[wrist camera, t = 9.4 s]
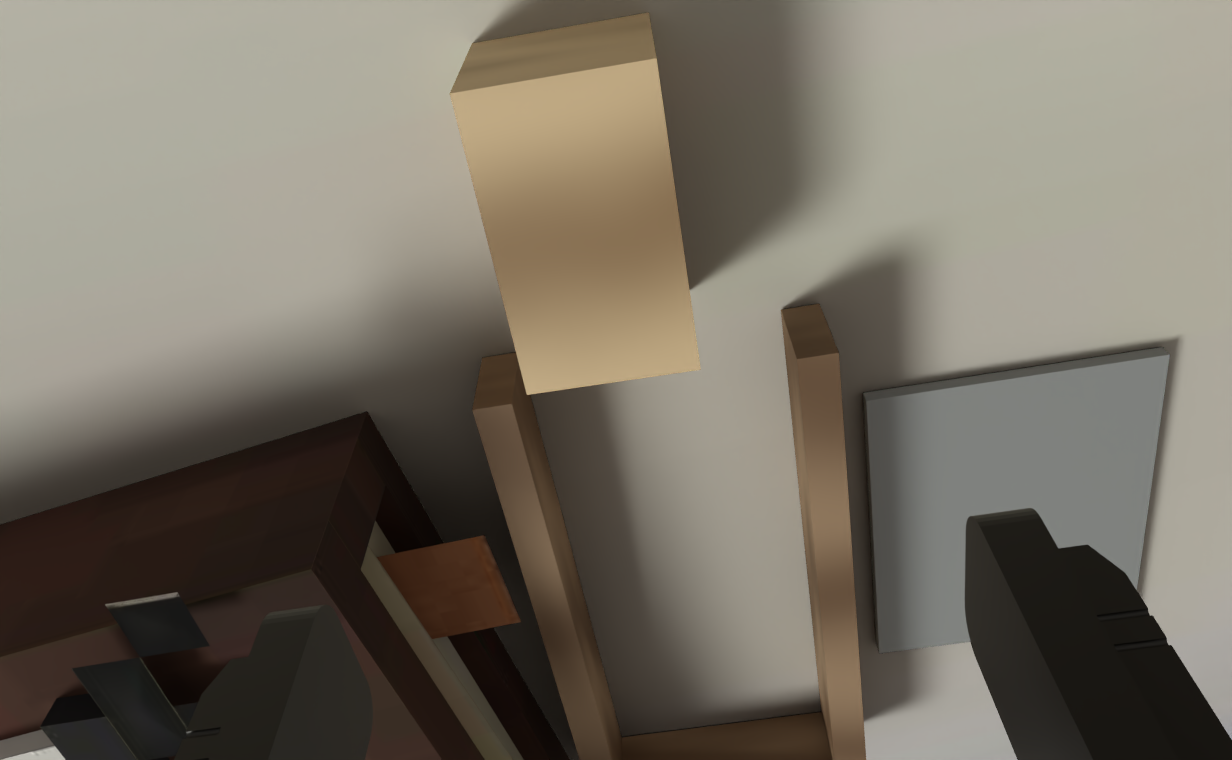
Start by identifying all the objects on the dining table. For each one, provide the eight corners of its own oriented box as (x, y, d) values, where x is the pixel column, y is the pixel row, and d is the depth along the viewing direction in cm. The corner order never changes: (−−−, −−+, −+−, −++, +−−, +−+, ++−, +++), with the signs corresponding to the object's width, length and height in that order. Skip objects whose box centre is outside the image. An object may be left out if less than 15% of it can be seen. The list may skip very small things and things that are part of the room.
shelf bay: (851, 727, 35) (868, 790, 33) (598, 758, 36) (599, 822, 34) (819, 303, 26) (838, 352, 24) (482, 357, 27) (472, 410, 25)
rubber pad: (1126, 611, 32) (1132, 620, 32) (876, 644, 33) (879, 653, 32) (1162, 347, 27) (1169, 354, 26) (862, 393, 27) (866, 400, 27)
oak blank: (687, 288, 26) (700, 369, 22) (536, 311, 26) (526, 394, 23) (648, 10, 22) (656, 58, 19) (473, 41, 22) (449, 93, 19)
